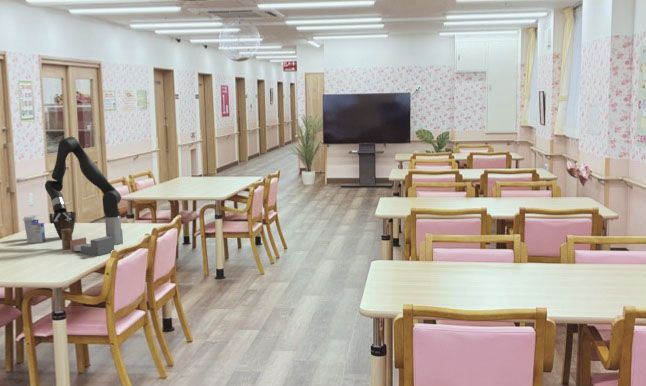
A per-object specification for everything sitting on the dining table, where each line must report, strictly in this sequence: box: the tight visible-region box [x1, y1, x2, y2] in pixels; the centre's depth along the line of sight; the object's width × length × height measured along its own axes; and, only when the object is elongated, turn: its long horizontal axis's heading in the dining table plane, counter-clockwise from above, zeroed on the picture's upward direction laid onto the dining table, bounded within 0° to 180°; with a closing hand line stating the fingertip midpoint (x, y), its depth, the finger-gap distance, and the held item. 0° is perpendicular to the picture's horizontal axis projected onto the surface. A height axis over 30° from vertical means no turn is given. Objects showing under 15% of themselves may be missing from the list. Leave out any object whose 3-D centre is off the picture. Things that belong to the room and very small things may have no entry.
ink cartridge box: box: [25, 219, 46, 244], centre depth 464 cm, size 10×6×14 cm, turn 89°
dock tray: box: [69, 237, 91, 252], centre depth 434 cm, size 10×11×6 cm
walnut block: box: [61, 228, 73, 251], centre depth 442 cm, size 5×5×12 cm
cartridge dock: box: [80, 235, 115, 257], centre depth 428 cm, size 15×12×9 cm
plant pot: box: [52, 211, 77, 240], centre depth 478 cm, size 15×15×16 cm
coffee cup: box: [22, 214, 39, 236], centre depth 476 cm, size 10×10×15 cm
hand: (64, 227), depth 446 cm, fingers open, 8 cm apart
